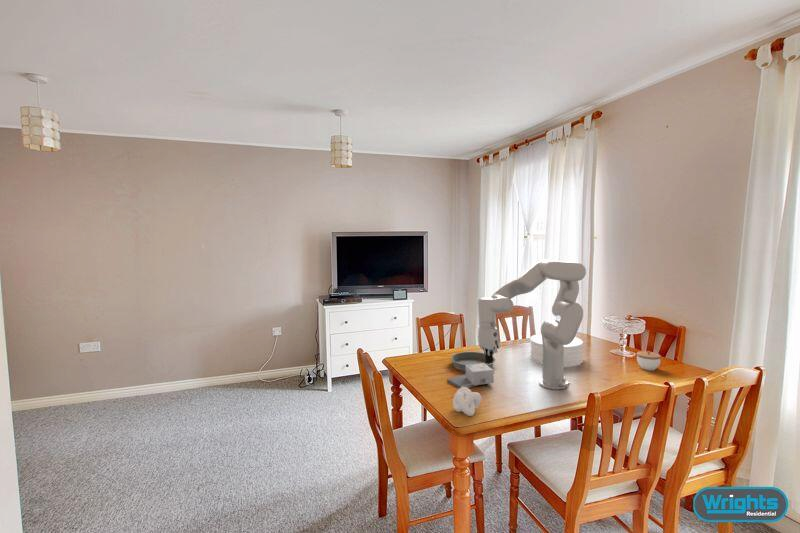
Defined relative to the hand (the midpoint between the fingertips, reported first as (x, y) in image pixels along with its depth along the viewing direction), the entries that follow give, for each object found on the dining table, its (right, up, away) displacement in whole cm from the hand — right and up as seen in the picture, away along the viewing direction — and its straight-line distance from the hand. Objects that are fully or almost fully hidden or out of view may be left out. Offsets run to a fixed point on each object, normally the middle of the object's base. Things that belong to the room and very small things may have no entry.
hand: (489, 362), depth 177 cm
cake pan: (-1, -11, +35) cm, 37 cm away
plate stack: (+49, -9, +43) cm, 66 cm away
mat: (-9, -13, +11) cm, 19 cm away
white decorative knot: (-13, -15, -20) cm, 29 cm away
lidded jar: (+90, -9, +24) cm, 94 cm away
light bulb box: (-2, -8, +4) cm, 9 cm away
